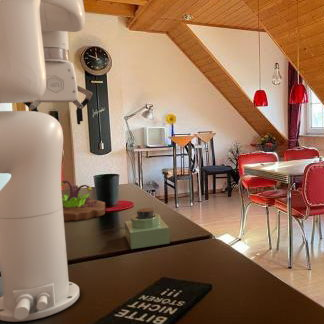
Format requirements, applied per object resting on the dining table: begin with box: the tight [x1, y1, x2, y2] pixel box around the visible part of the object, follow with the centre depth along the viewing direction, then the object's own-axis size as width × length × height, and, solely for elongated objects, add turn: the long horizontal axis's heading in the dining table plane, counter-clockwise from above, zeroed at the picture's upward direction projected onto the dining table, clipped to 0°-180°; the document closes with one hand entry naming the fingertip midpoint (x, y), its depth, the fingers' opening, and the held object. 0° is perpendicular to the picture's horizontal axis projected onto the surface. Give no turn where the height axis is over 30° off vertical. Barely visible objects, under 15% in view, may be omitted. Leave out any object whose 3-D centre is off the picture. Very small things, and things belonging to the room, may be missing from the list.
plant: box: [61, 180, 106, 222], centre depth 125 cm, size 20×20×11 cm
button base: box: [124, 212, 171, 250], centre depth 96 cm, size 11×9×6 cm
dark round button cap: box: [136, 207, 155, 219], centre depth 96 cm, size 4×4×2 cm
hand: (58, 124), depth 100 cm, fingers open, 9 cm apart
